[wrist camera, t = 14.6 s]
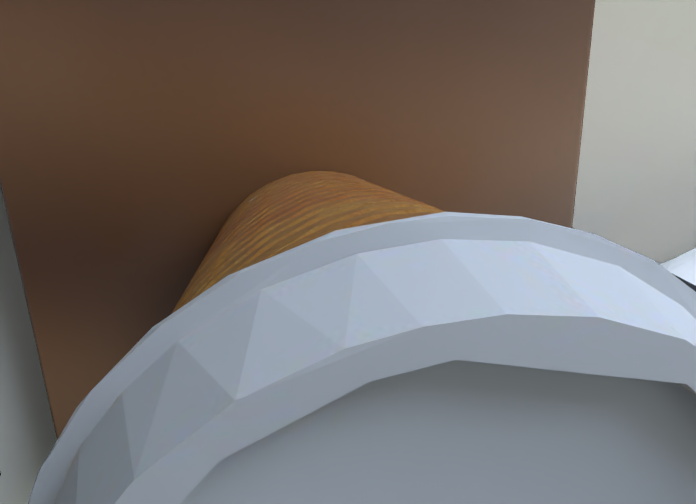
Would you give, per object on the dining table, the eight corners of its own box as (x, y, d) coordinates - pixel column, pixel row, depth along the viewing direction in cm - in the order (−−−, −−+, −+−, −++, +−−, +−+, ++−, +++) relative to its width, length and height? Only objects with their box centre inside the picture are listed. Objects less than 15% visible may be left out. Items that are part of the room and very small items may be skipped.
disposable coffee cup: (534, 250, 18) (996, 565, 7) (333, 465, 20) (460, 1018, 8) (298, 31, 15) (474, -18, 4) (76, 305, 16) (-268, 856, 5)
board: (-21, -18, 15) (-48, -25, 13) (570, -24, 17) (599, -30, 16) (87, 498, 20) (76, 531, 19) (529, 437, 23) (549, 463, 21)
